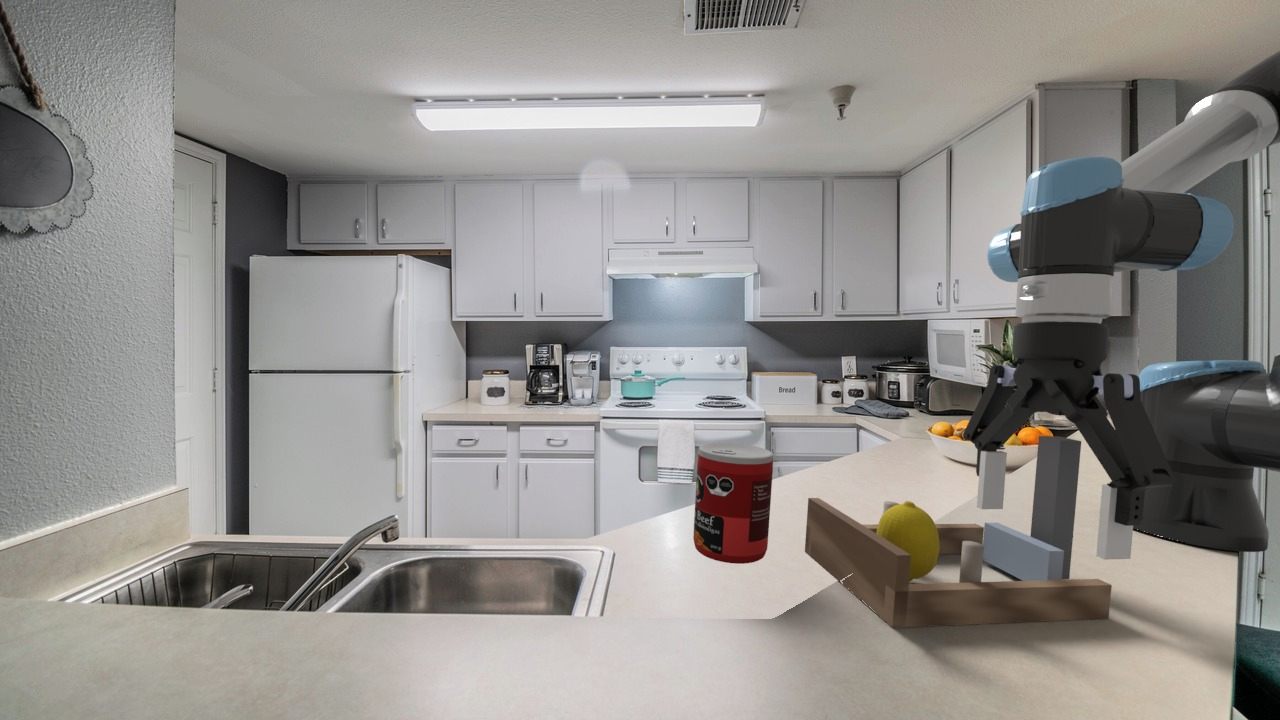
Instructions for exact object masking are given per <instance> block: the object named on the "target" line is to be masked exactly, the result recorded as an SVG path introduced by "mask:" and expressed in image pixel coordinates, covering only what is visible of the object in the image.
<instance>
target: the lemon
mask: <svg viewBox="0 0 1280 720" xmlns="http://www.w3.org/2000/svg"><path fill="white" fill-rule="evenodd" d="M898 504H899V505H895V506H893V507H891V508H889V509H888V510H887V511H885V512H884V514H883V513H882V515H881V516H880V518H879V521H878V527H877V532H876V534H878V535H879V536H881V537H883V538H884V539H886V540H887V541H889V542H891V543H892V544H894V545H895V546H897V547H899V548H900V549H902V550H904V551H905V552H907V553H908V554H910V555H911V562H910V576H909V583H910V582H911V581H913V580H916V579H917V580H918V579H920V578H921V579H922V578H924V577H925V576H927V575H928V574H930V573H931V572H932V571H933V570H934V568H935V566H936V564H937V562H938V558H939V555H940V554H939V548H940V544H939V536H938V531H937V528H936V525H935V524H936V523H935V522H934V520H933V518H932V517H931V516H930V514H929V513H928V512H926V510H924V509H923V508H921V507H919V506H917V505H915V503H914V502H912V501H909V500H905V501H904V502H903V503H898Z"/></svg>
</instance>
